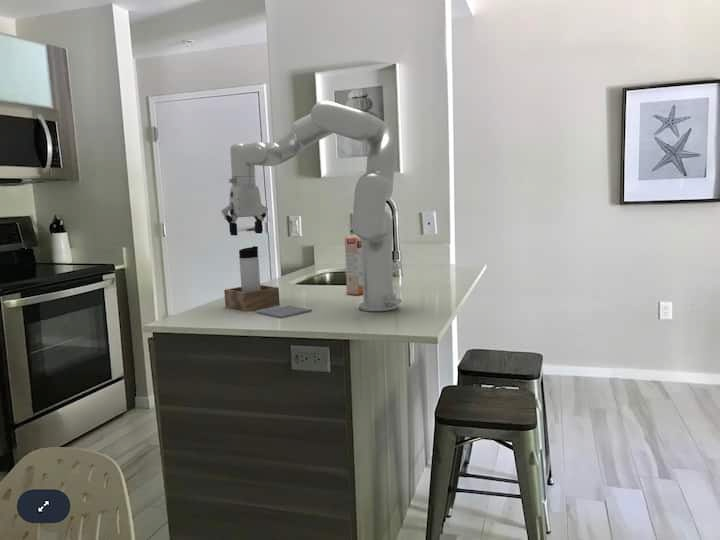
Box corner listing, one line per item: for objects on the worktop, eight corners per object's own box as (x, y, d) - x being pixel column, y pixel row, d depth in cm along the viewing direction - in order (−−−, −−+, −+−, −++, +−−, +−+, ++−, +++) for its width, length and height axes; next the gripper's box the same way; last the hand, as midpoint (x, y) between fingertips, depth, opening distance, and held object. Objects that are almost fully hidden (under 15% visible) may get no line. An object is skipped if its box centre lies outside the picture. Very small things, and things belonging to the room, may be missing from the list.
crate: (279, 305, 195) (278, 287, 194) (247, 311, 186) (245, 293, 186) (257, 301, 205) (256, 284, 204) (225, 307, 196) (224, 289, 195)
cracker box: (359, 295, 206) (357, 237, 203) (346, 294, 210) (343, 237, 207) (380, 289, 218) (378, 234, 215) (367, 288, 221) (364, 234, 218)
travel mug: (266, 305, 196) (262, 246, 193) (250, 308, 191) (246, 248, 188) (254, 303, 200) (251, 246, 197) (239, 306, 195) (234, 247, 192)
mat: (311, 311, 182) (311, 309, 182) (280, 318, 174) (280, 316, 174) (288, 307, 191) (288, 305, 191) (258, 313, 183) (258, 311, 183)
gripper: (226, 182, 181) (230, 236, 184) (272, 181, 193) (274, 232, 196) (214, 182, 187) (217, 235, 189) (259, 182, 199) (261, 232, 201)
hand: (246, 234), depth 192 cm, fingers open, 9 cm apart
